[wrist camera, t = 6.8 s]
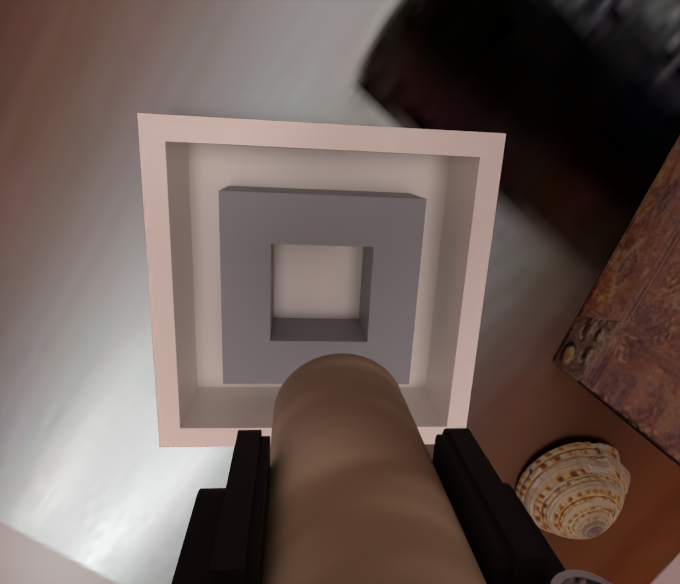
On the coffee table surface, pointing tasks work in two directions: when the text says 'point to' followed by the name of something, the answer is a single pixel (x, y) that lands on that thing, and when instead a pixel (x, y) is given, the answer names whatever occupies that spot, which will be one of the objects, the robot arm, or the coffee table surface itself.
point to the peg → (356, 485)
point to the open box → (309, 256)
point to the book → (637, 320)
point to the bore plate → (317, 229)
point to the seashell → (575, 489)
